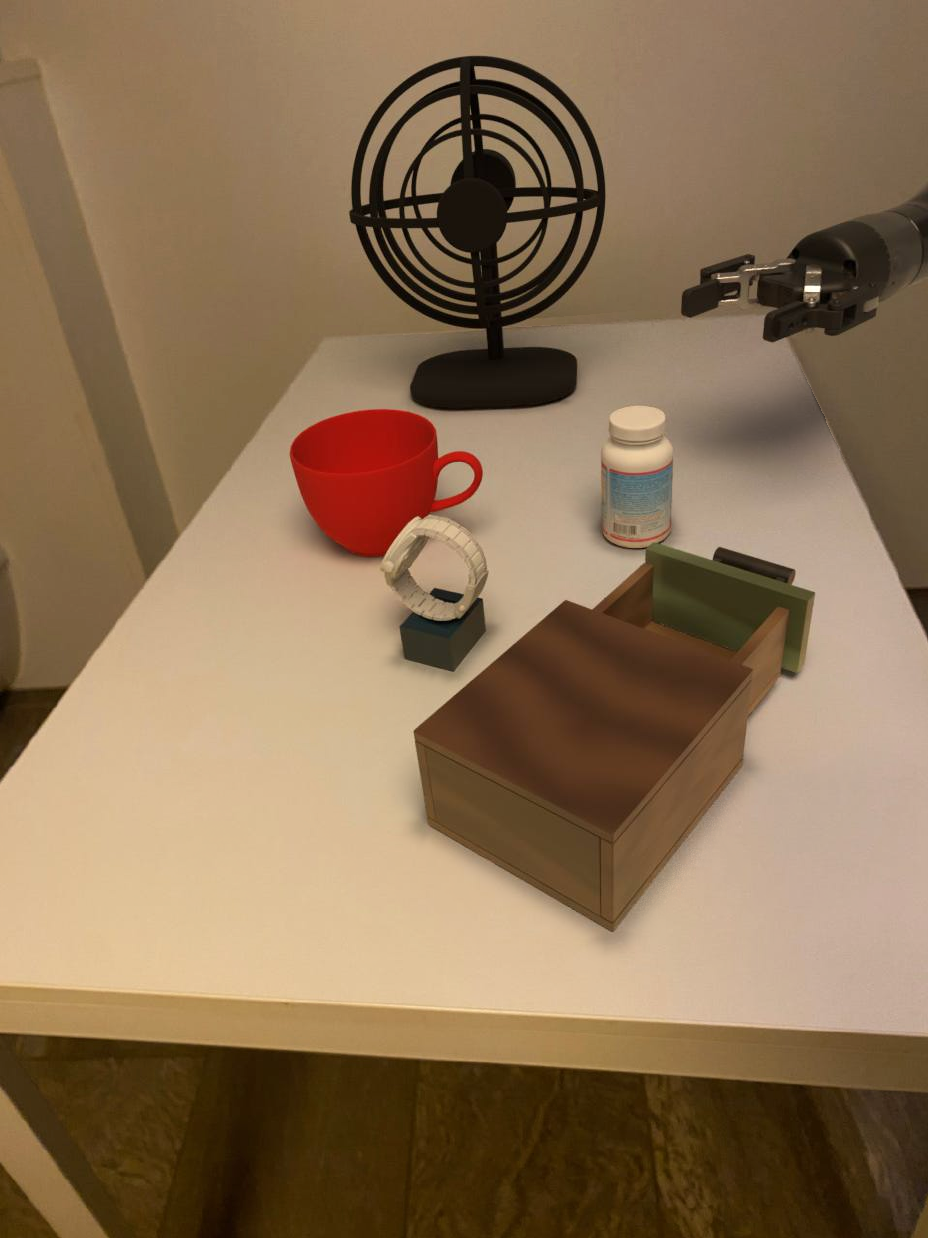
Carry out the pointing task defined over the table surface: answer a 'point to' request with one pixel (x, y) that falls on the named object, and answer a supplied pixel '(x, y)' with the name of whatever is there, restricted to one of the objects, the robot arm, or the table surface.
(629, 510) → the pill bottle
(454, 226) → the desk fan
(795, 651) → the drawer
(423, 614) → the watch
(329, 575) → the table surface
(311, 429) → the ceramic cup
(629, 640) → the cabinet
